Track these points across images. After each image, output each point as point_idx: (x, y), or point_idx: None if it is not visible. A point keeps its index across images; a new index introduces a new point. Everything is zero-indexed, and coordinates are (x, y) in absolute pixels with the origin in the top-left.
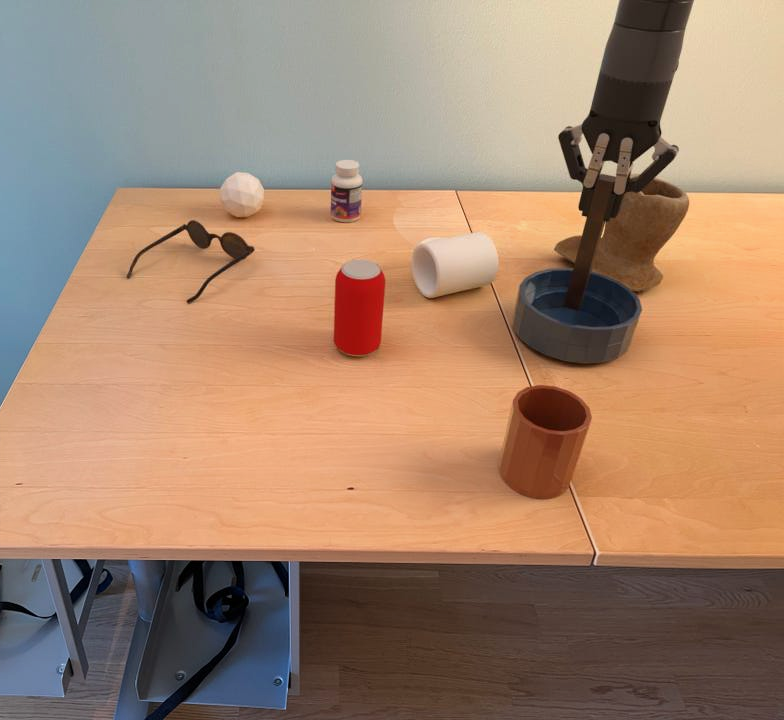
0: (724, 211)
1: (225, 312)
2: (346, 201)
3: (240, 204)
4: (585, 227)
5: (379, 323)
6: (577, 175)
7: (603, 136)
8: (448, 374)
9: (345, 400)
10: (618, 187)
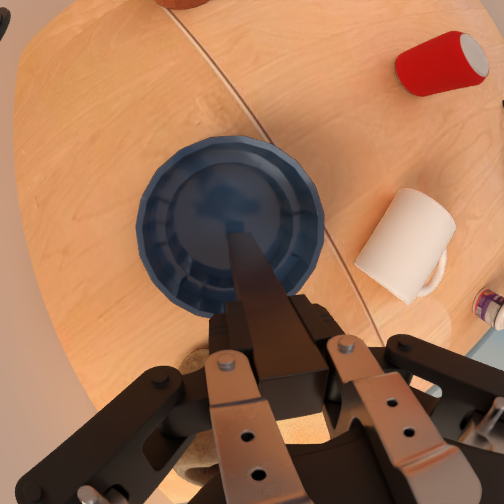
0: (191, 486)
1: (488, 97)
2: (494, 299)
3: None
4: (277, 283)
5: (414, 59)
6: (397, 346)
7: (462, 501)
8: (320, 64)
9: (370, 6)
10: (232, 367)
